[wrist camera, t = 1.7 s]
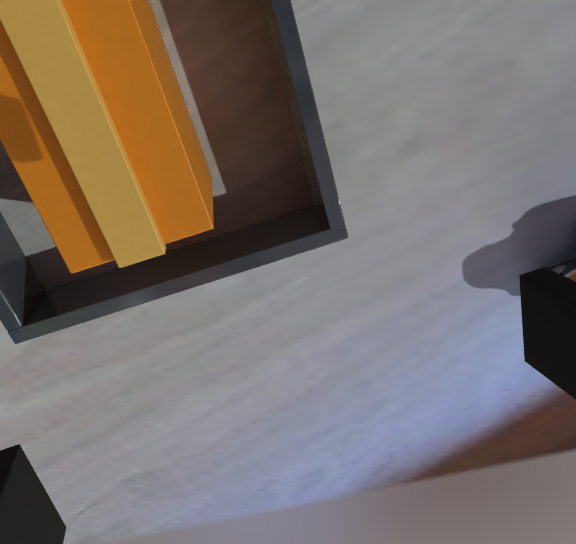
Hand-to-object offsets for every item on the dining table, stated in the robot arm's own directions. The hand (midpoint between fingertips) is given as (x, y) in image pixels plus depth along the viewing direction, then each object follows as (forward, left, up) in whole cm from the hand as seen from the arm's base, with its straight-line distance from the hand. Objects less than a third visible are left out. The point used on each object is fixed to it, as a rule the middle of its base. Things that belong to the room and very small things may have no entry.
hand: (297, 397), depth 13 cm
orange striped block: (-7, -6, -24) cm, 26 cm away
